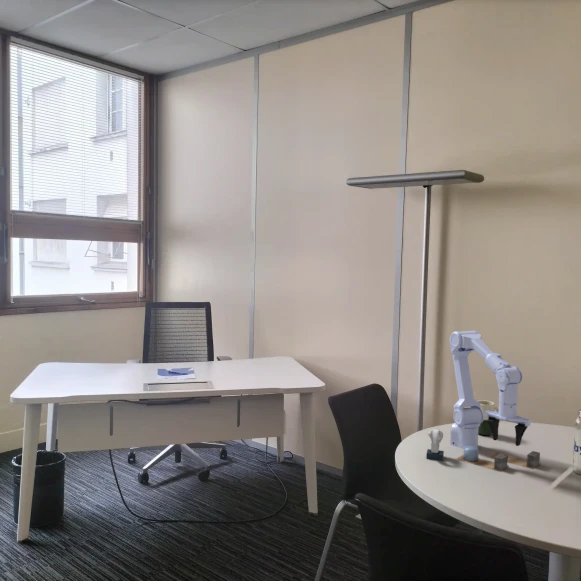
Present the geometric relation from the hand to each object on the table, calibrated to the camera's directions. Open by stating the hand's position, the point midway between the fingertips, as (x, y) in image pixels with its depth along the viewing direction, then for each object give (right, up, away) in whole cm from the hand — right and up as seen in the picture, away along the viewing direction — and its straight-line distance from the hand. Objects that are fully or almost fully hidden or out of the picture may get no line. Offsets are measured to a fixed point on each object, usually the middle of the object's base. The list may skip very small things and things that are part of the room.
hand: (506, 442), depth 187 cm
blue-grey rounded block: (-10, -8, +6) cm, 14 cm away
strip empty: (+5, -9, +6) cm, 12 cm away
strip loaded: (-7, -9, +4) cm, 12 cm away
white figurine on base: (-22, -9, +8) cm, 25 cm away
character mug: (+5, -7, +37) cm, 38 cm away
